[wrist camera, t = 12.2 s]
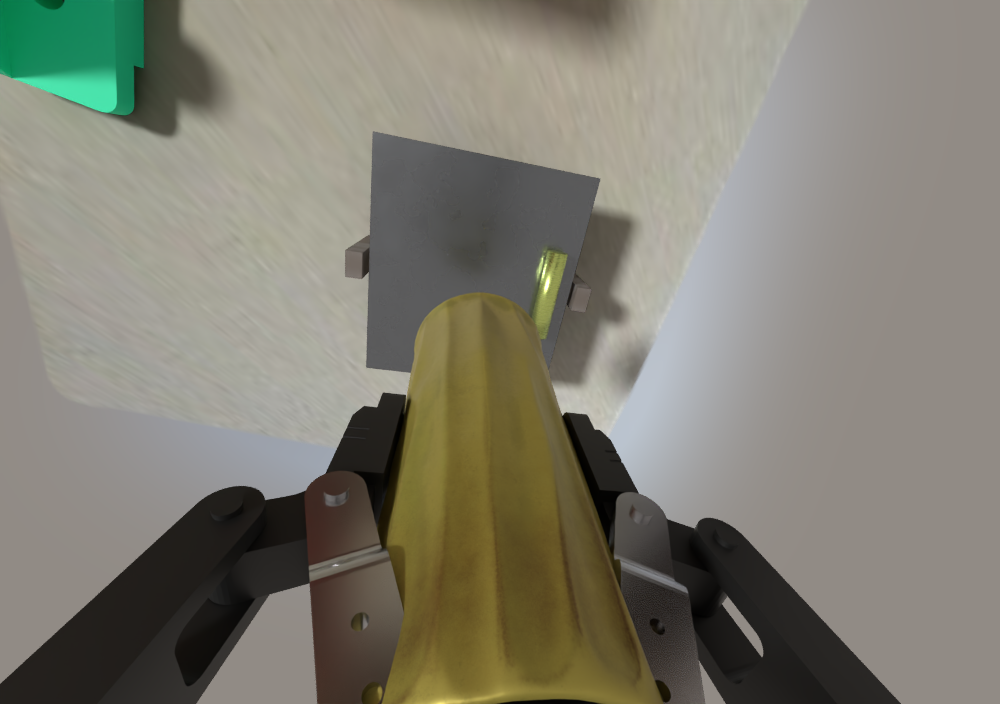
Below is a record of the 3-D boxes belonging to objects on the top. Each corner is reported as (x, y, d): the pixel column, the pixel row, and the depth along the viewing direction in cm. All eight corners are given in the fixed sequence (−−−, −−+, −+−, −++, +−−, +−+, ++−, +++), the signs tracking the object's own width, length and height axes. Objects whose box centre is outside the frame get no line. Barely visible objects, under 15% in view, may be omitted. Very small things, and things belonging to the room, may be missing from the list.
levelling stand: (370, 161, 31) (345, 159, 25) (587, 204, 34) (614, 212, 28) (365, 317, 37) (345, 347, 31) (551, 342, 40) (566, 374, 33)
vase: (389, 329, 17) (168, 780, 5) (505, 266, 16) (641, 604, 4) (456, 421, 20) (436, 873, 7) (559, 371, 19) (749, 782, 6)
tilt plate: (376, 132, 25) (367, 129, 23) (596, 178, 28) (607, 179, 25) (368, 362, 33) (361, 376, 31) (541, 382, 36) (546, 397, 33)
